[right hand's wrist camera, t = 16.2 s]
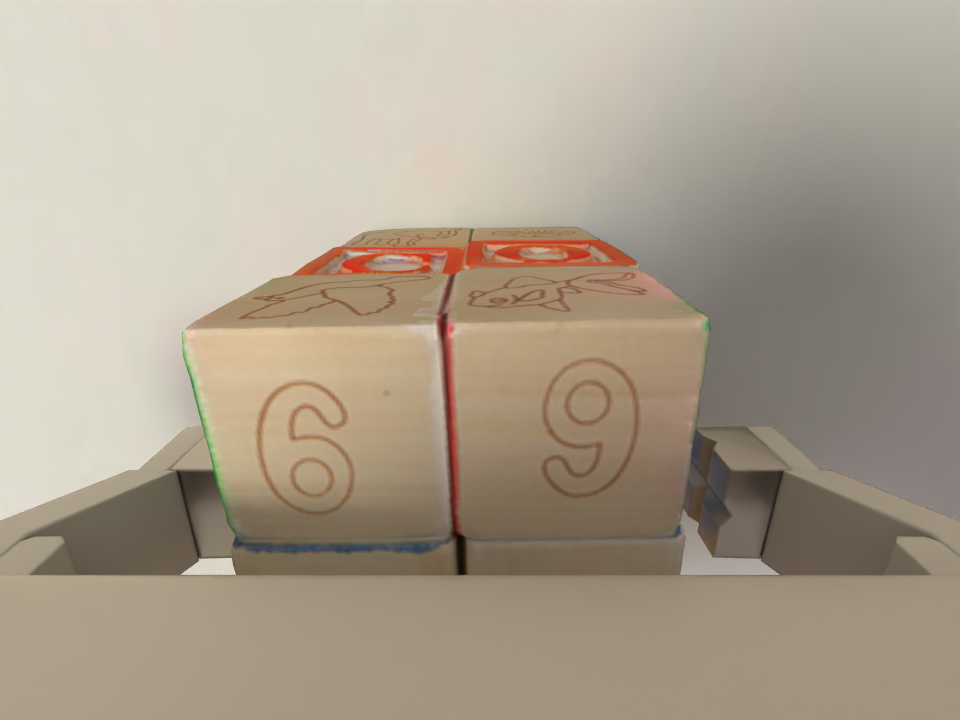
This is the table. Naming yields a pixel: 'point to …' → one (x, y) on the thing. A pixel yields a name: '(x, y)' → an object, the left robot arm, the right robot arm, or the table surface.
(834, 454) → the table surface
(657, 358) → the stack of blocks
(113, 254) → the table surface
